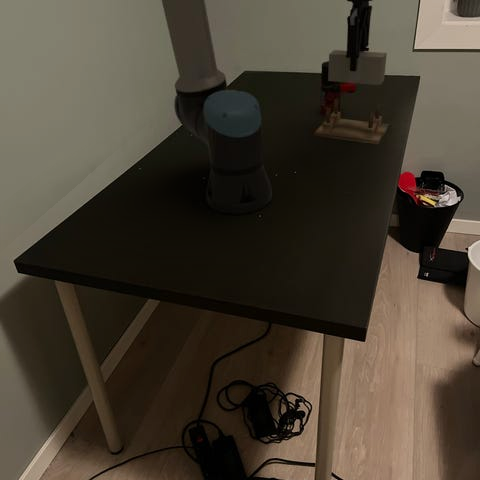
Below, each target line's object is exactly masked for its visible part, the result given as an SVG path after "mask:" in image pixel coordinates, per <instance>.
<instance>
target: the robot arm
mask: <svg viewBox="0 0 480 480" xmlns="http://www.w3.org/2000/svg"><path fill="white" fill-rule="evenodd" d="M346 1H347V2H351V3H352V6H351V9H350V10H349V15H348V16H347V18H346V21H347V32H346V33H347V34H346V36H347V37H346V39H347V40H346V51H347V54H346V58H349V71H348V83H356V84H360V83H359V71H360V57H359V53H360V51H361V52H370V47H368V46H369V43H370V42H369V40H370V39H369V38H370V31H371V18H372V17H371V16H372V12H373V11H372V10H373V6H372V5H370V2H372V1H374V0H346ZM161 4H162V7H163V12H164V16H165V21H166V25H167V29H168V34H169V38H170V41H171V46H172V50H173V55H174V59H175V63H176V68H177V72H178V78H177V80H176V82H175V83H174V88H175V92H176V96H175V97H174V101H173V102H174V104H173V105H174V106H173V107H174V112H175V115H176V118H177V119H178V121H179V122H180V124H181V125H182V126H183V128H184V129H186V130H187V131H188V132H190V133H191V134H193V135H194V136H196V138H198V139H199V140H200V141H202V142H203V143H204V144H205V145H206V146H207V148H208V154H209V155H208V156H209V163H210V172H209V178H208V181H207V186H206V192H205V193H206V201H207V204H208V206H209V207H210V208H212V209H213V210H215V211H217V212H219V213H222V214H226V215H227V214H228V215H243V214H249V213H252V212H256V211H259V210H261V209H262V208H265V207H266V206H267V205H268V204H269V203H270V202H271V200H272V197H273V192H272V189H273V188H272V184H271V181H270V180H269V177H268V174H267V171H266V170H265V167H264V163H263V161H264V160H263V159H264V158H263V144H262V143H263V141H262V114H261V108H260V104H259V102H258V100H257V98H256V97H255V96H253V95H252V94H251V93H248V92H246V91H243V90H240V91H238V90H237V89H228V84H227V78H226V75H225V73H224V72H222V71H221V70H219V69H218V66H217V61H216V60H217V59H216V56H215V55H216V54H215V50H214V45H213V40H212V39H213V38H212V35H211V34H212V33H211V30H210V29H211V28H210V22H209V18H208V13H207V12H208V11H207V6H206V1H205V0H161Z"/></svg>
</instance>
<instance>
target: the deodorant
mask: <svg viewBox="0 0 480 480" xmlns="http://www.w3.org/2000/svg"><path fill="white" fill-rule="evenodd" d="M328 73H329V60H328V61H324V62H322V63H321V77H320V78H321V81H320V84H321V85H320V86H321V87H320V115H321V116H323V117H326V108H331V113H330V115H331V114H332V113H333V112H334V100H335V99H338V100H339V102H338V112H341V98H342V97H341V82H336V81H328Z"/></svg>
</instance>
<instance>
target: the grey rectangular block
mask: <svg viewBox="0 0 480 480" xmlns="http://www.w3.org/2000/svg"><path fill="white" fill-rule="evenodd" d="M346 54H347V50H341V49H340V50H338V49H333V51H331V52H330V53H329V54H328V61H329V73H328V81H336V82H348V71H349V58H346ZM387 56H388V53H387V52H374V51H364V52H361V51H360V53H359V57H360V71H359V83H358V84H360V85H361V84H363V85H373V86H381V85H382V84H383V82H384V81H385V73H386V65H387V64H386V63H387Z"/></svg>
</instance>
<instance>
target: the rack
mask: <svg viewBox="0 0 480 480" xmlns="http://www.w3.org/2000/svg"><path fill="white" fill-rule="evenodd" d="M338 102H339V100H338V99H335V100H334V112H333V113H332V114H331V115H330V113H331V108H326V116H325V121H324V122H323V123H322V124H320V126H319V127H318V128H317V129H316V130H315V132H314V137H318V138H319V137H320V138H327V139H332V140H333V139H336V140H341V141H342V140H343V141H347V142H348V141H350V142H355V143H356V142H357V143H363V144H372V145H379V144H380V142H381V141H382V138H383V137H384V136H385V134H386V132H387V131H388V130H389V126H390V124H389V123H382V118H383V116H382V115H380V113H381V105H382V104H381V103H379V102H378V103H376V104H375V111H374V112H372V111H371V112H369V116H368V121H363V120H355V119H346V118H341V115H342V112H341V111H340V112H338Z"/></svg>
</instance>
